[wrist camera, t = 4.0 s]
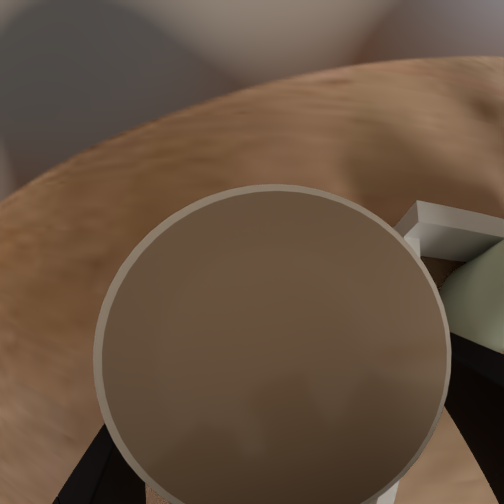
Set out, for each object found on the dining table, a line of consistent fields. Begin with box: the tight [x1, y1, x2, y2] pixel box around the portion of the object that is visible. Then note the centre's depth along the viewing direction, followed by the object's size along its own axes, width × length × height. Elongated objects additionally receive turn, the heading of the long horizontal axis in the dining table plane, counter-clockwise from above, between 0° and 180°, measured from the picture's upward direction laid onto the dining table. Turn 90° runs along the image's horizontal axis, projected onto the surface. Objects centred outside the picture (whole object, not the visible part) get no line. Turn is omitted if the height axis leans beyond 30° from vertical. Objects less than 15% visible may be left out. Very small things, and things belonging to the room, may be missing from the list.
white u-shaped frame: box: [370, 200, 504, 504], centre depth 13 cm, size 19×15×4 cm
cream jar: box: [93, 184, 451, 504], centre depth 10 cm, size 6×6×14 cm
